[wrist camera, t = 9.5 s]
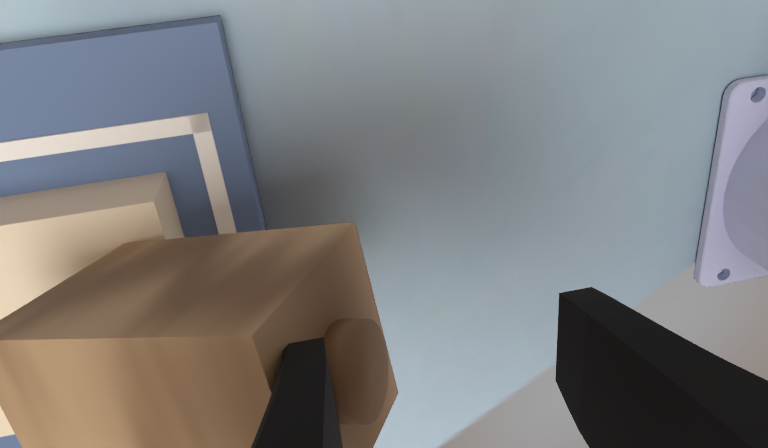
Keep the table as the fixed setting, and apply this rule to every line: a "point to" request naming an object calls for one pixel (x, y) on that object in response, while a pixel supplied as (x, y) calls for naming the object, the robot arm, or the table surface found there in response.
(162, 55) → the blueprint board
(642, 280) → the table surface
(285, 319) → the oak block
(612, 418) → the robot arm
